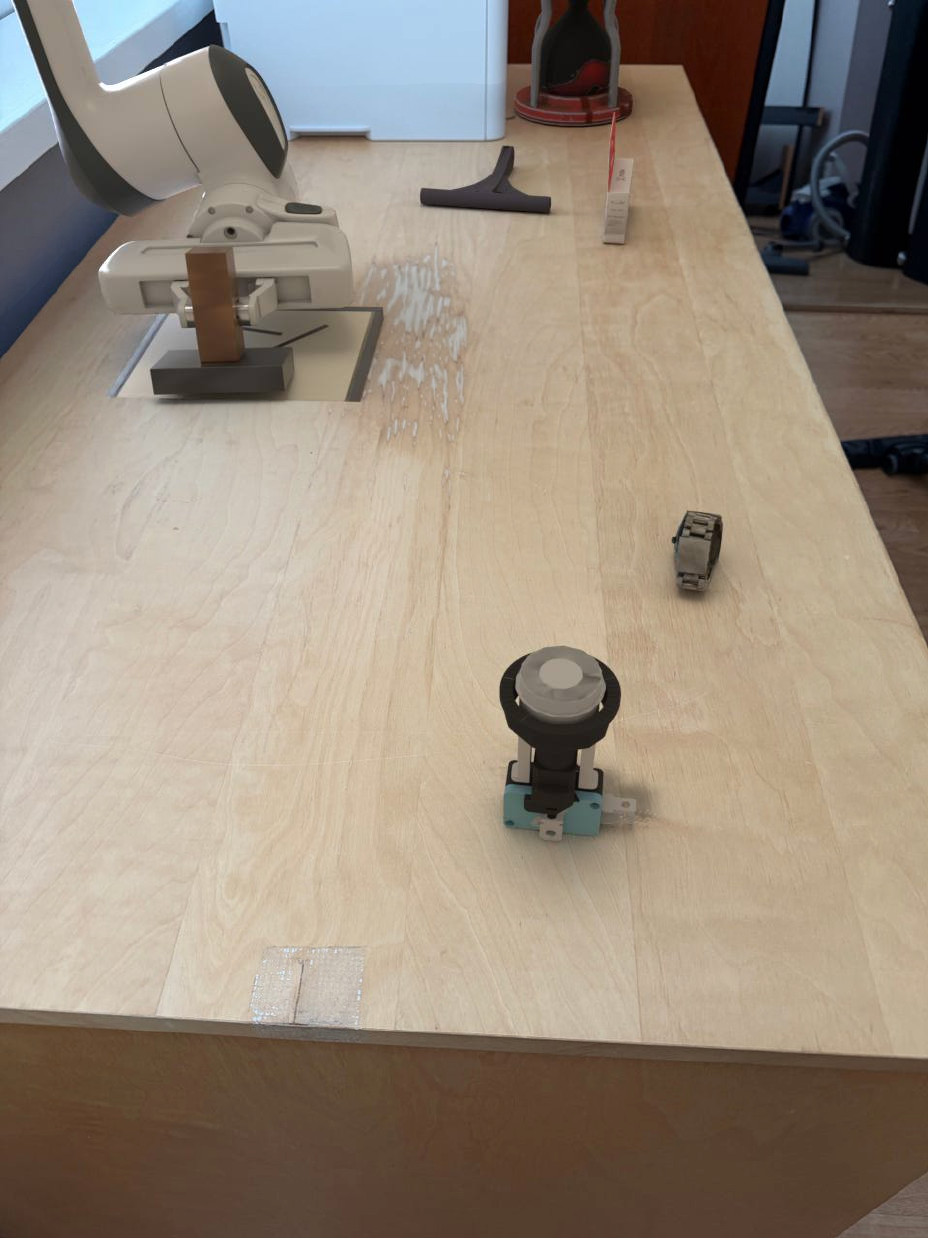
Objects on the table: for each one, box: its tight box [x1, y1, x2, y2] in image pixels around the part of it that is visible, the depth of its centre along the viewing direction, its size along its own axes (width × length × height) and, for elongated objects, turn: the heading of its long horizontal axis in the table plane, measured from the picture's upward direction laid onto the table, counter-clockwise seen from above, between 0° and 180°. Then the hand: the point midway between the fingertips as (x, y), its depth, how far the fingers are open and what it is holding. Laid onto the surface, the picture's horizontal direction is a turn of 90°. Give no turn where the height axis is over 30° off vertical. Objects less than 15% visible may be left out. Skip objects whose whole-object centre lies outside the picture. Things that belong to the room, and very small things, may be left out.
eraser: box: [150, 246, 295, 395], centre depth 79 cm, size 10×6×10 cm, turn 91°
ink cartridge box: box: [602, 112, 635, 245], centre depth 107 cm, size 2×11×10 cm, turn 171°
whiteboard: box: [105, 305, 384, 403], centre depth 86 cm, size 20×22×1 cm
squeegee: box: [419, 145, 552, 214], centre depth 119 cm, size 14×15×3 cm
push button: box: [498, 645, 637, 842], centre depth 48 cm, size 7×5×10 cm
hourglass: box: [513, 0, 634, 127], centre depth 134 cm, size 16×16×25 cm
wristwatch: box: [671, 509, 724, 592], centre depth 64 cm, size 3×5×5 cm
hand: (218, 318), depth 79 cm, fingers closed on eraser, 3 cm apart
